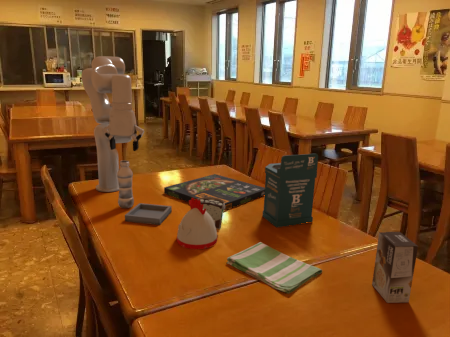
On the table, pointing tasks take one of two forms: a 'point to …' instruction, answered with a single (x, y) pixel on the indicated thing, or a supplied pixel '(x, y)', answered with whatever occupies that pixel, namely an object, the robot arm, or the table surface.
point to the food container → (214, 209)
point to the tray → (148, 214)
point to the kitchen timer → (197, 228)
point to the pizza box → (216, 190)
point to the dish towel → (273, 267)
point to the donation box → (290, 190)
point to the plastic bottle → (125, 185)
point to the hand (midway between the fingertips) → (124, 149)
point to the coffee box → (394, 266)
